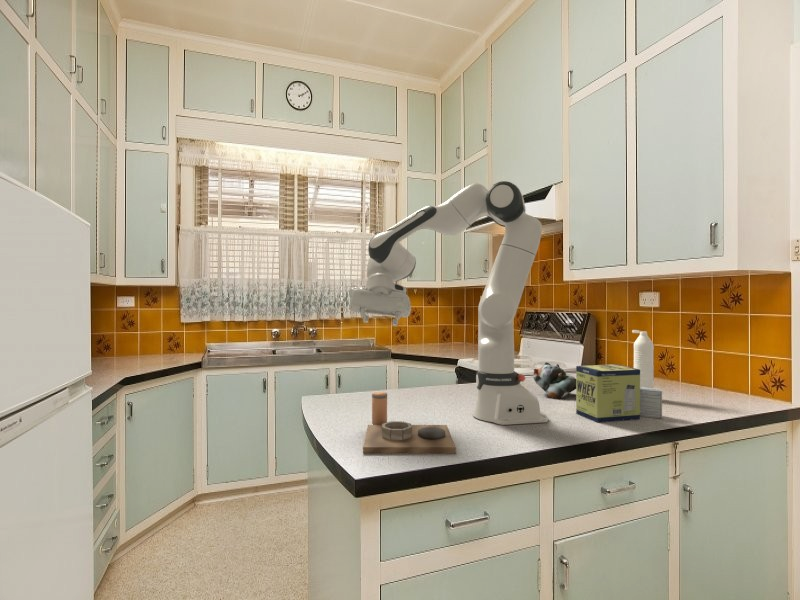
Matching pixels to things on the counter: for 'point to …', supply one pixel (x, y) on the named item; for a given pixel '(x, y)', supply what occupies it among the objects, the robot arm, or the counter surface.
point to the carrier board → (408, 438)
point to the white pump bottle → (644, 358)
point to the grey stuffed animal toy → (554, 381)
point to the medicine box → (650, 402)
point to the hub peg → (379, 408)
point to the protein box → (608, 392)
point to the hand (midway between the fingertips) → (380, 323)
